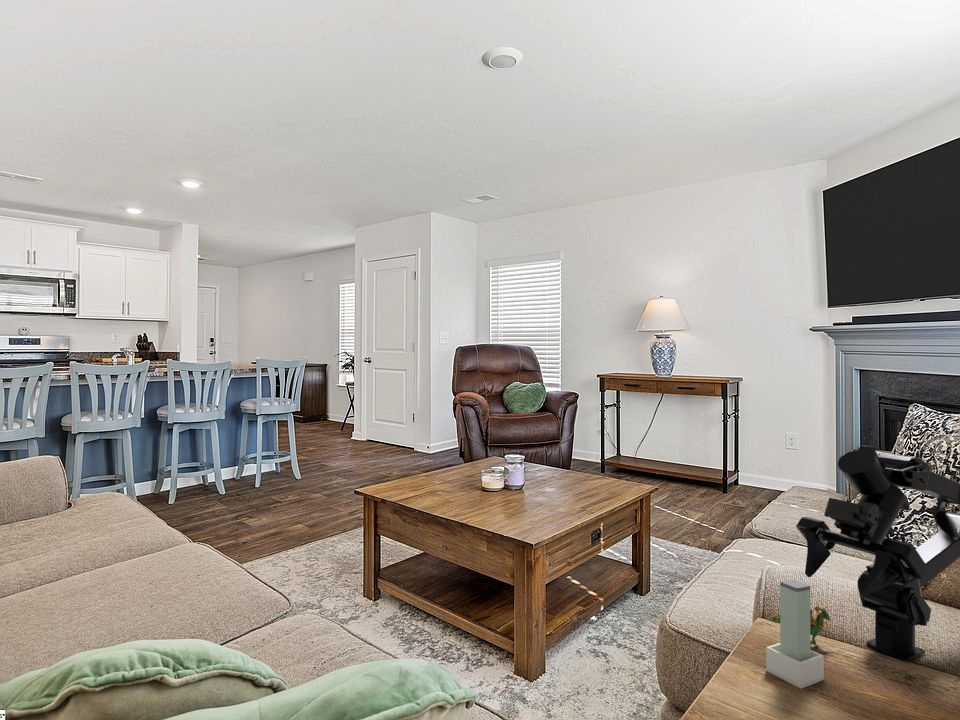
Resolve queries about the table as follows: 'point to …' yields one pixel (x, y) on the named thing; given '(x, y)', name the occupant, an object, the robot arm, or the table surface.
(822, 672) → the ceramic well
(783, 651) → the sage bracket post
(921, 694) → the table surface
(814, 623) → the figurine
